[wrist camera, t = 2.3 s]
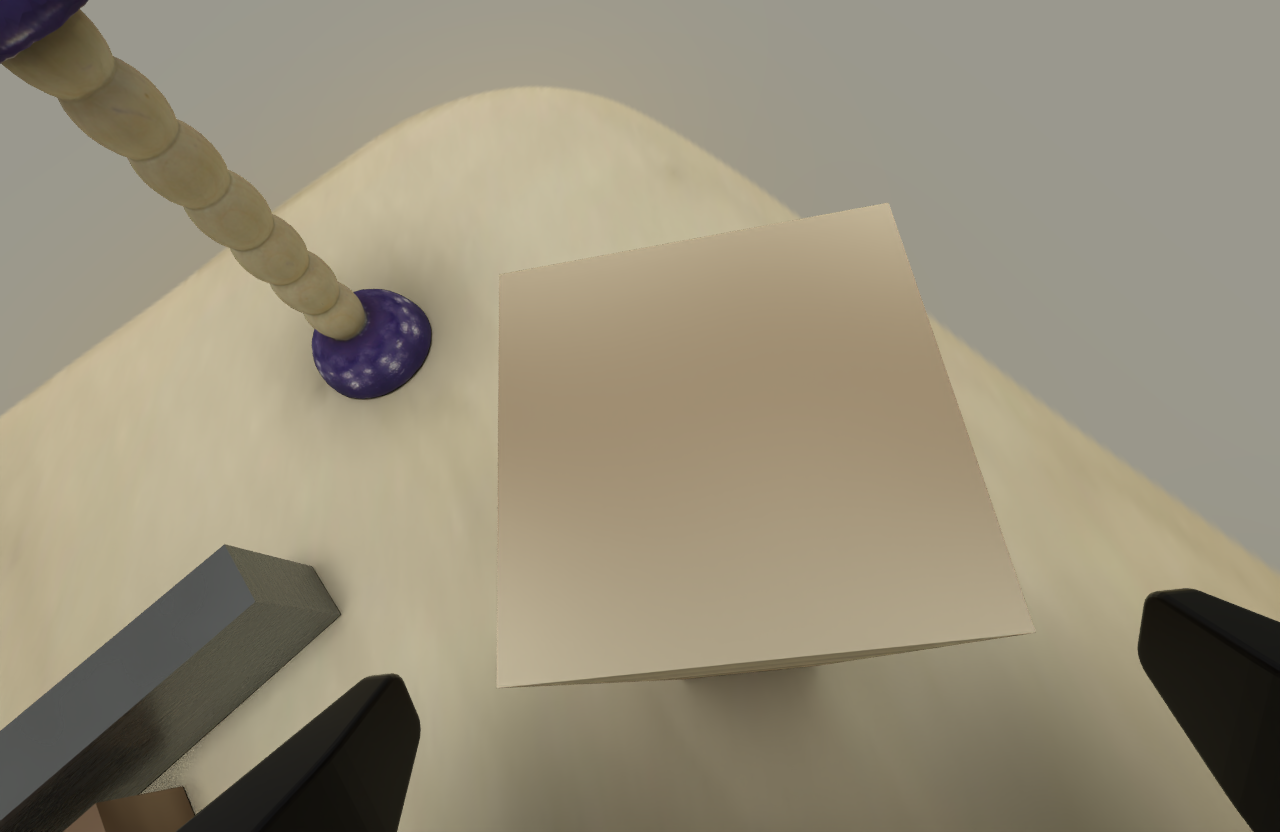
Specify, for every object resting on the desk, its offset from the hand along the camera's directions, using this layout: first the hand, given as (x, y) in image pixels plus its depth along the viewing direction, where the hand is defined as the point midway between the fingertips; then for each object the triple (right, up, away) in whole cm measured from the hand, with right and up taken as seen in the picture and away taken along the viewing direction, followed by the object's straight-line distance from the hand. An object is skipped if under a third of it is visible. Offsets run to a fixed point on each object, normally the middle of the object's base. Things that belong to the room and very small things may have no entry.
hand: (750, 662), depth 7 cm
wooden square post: (+1, -2, +9) cm, 10 cm away
